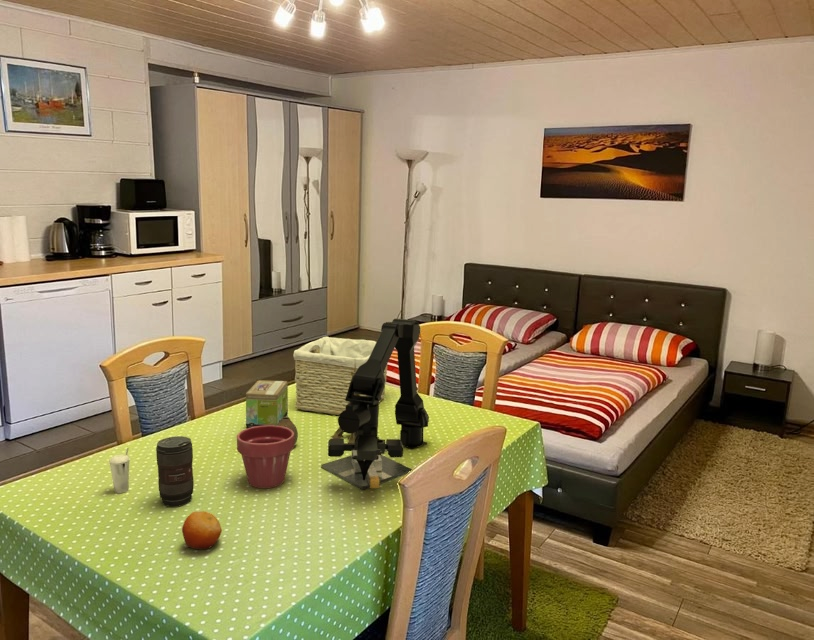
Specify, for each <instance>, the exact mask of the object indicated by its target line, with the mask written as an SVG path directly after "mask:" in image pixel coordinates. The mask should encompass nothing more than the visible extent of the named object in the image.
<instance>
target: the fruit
mask: <svg viewBox="0 0 814 640" xmlns="http://www.w3.org/2000/svg"><path fill="white" fill-rule="evenodd" d="M181 528H182V529H181V531H182V536H183V540H184V542H185V547H184V548H183V550H184V551H185V550H186V549H187V548H192V549H196V550H208V549H210V548H211V547H213V546H214V545H215V544H216V542H217V541H218V539H220V536H221V535H222V531H223V530H222V526H221V523H220V521H219V520H218V518H217V517H216V516H215V515H214V514H213V513H211V512H207V511H204V510H203V511H202V510H201V511H194V512H193V511H192V512H191V513H190V514H189V515H188V516H187V517H186V518H185V520H184V522H183V524H182V527H181Z"/></svg>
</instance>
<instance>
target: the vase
mask: <svg viewBox="0 0 814 640" xmlns="http://www.w3.org/2000/svg"><path fill="white" fill-rule="evenodd" d="M277 426H283V427H286V428H289V429H291V430H292V431H293V432H294V446H295V445H296V444H297V441H298V435H299V433H298V428H297V427H296V425H295V424H294V423H293V421H292V420H291V418H290V417H289V416H288V417H282V418H281V420H280V422H279V423H278V425H277Z"/></svg>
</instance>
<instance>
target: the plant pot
mask: <svg viewBox="0 0 814 640" xmlns="http://www.w3.org/2000/svg"><path fill="white" fill-rule="evenodd" d="M294 447H295V445H294V432H293V431H292V430H291V429H289V428H286V427H283V426H275V425H263V426H255V427H251V428H247V429H246V428H245V429H242V430H241V431H239V432H238V433H237V435H236V448H237V449H236V450H237V451H238V452H237V453H239V454H241V459H242V462H243V466H244V471H245V474H246V477H247V481H248V484H249V485H250V486H252V487H254V488H259V489H270V488H271V489H272V488H275V487H278V486H281V485H282V484H283V483H284V481H285V478H286V474H287V469H288V466H289V461H290V455H291V451H292V450H294Z"/></svg>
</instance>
